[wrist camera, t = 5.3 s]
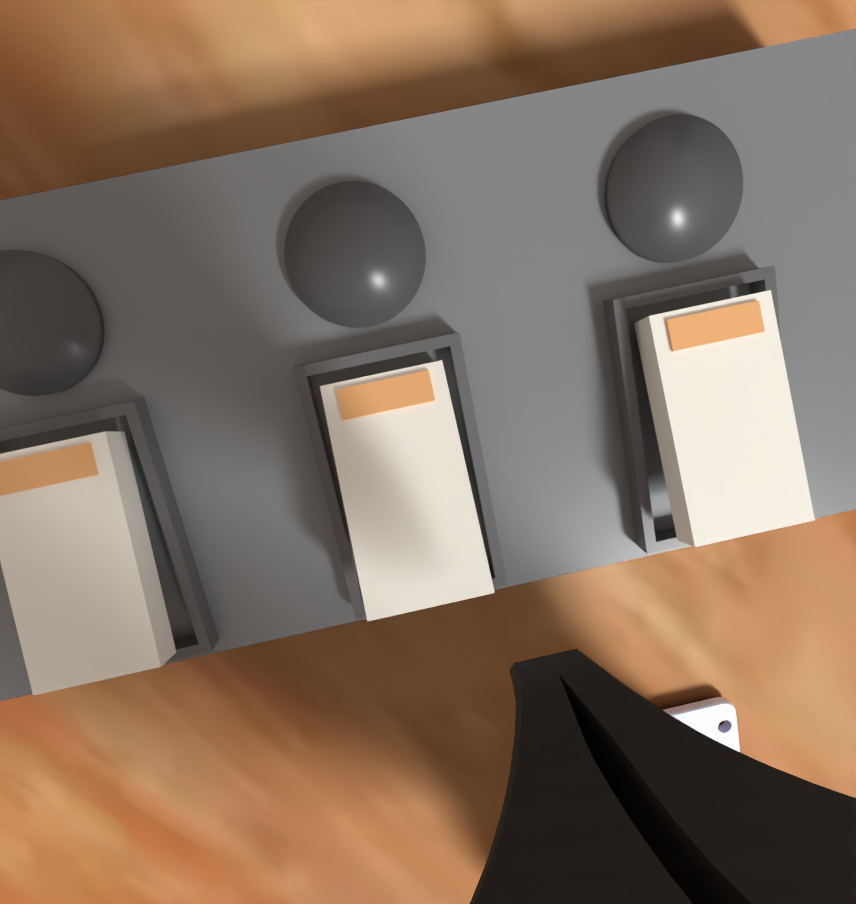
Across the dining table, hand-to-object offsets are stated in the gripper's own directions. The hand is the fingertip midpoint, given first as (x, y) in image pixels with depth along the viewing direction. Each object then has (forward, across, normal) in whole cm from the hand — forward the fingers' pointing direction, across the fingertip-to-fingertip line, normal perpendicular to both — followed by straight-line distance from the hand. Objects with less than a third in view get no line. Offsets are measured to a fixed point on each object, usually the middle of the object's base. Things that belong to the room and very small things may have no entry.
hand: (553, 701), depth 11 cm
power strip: (+9, -2, -6) cm, 11 cm away
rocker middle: (+5, +2, -3) cm, 6 cm away
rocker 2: (+5, -7, -3) cm, 9 cm away
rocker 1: (+5, +10, -3) cm, 12 cm away
